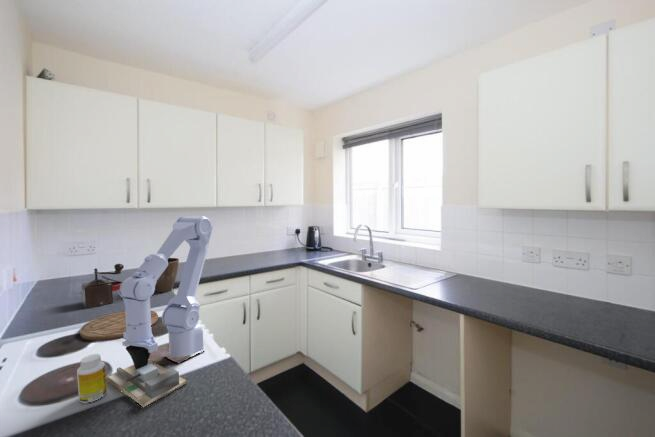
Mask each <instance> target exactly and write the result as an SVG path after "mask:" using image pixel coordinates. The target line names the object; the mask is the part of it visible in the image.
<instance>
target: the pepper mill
mask: <svg viewBox="0 0 655 437" xmlns="http://www.w3.org/2000/svg"><path fill="white" fill-rule="evenodd" d="M113 266H114V272H111V271H108V272H107V271H105V272H101V271H98V268H96V267H95V268H94V269H93V271H94V272H93V273H94V279H92V280H91V281H90V282H86V283H82V284H81V296H82V299H81V300H82V305H83V307H84V308H85V309H86V310H87V309H92V308H97V307H101V306H105V305H109V304H113V303H114V300H113V299H114V298H113V291H112V284H111V283H110V282H111V281H110V280H106V279H103V278H102V279H99V278H98V274H99V275H120V274H122V270H123V269H124V268H125V267H124V265H123V264H122V263H116V264H114V265H113Z"/></svg>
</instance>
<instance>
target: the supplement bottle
mask: <svg viewBox="0 0 655 437" xmlns="http://www.w3.org/2000/svg"><path fill="white" fill-rule="evenodd" d="M76 376H77V377H76V379H77V380H76V381H77V393H78V401H79V402H80V403H81V402H82V403H81V404H88V403H87V402H91V403H93V402H92V401H95V400H97V401H99V400H100V398H101V397H102V398H103V397H105V395H107V391H108V390H107V381H106V376H107V374H106V363H105V362H104V361H103V360H102V358H101V354H98V353H94V354H93V353H92V354H89V355H87V356H84V357H82V358H81V359H80V366H79V367H78V368H77V370H76ZM102 398H101V399H102ZM98 399H99V400H98ZM95 402H96V401H95Z"/></svg>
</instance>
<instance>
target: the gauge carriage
mask: <svg viewBox="0 0 655 437" xmlns="http://www.w3.org/2000/svg"><path fill="white" fill-rule="evenodd" d="M156 376H158V368H157V367H155V366H153V365H152V364H148V365H146V366H143V367H141V368H139V369H137V370H136V375H135V376H133V377H131V378H129V379H127V380H126V382H128V381H130V380H132V379H135V378H137V379H139V380H140V381H142V382H143V383H145V382H146V381H148V380H150V379H152V378H154V377H156Z"/></svg>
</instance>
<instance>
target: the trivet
mask: <svg viewBox="0 0 655 437" xmlns="http://www.w3.org/2000/svg"><path fill="white" fill-rule="evenodd" d="M157 320H158V321H159V314H158V312H156V311H155V310H151V325H152V324H154V323H155V322H156V321H157ZM158 321H157V322H158ZM125 331H127V330H126V313H125V310H123V311H117V312H113V313H109V314H106V315H102V316H99V317H97V318H94V319H93V320H90V321H88V322H86V323H84V324H83V325H82V327H80V329H79V336H80V337H81V338H82V340H85V341H92V342H93V341H94V342H104V341H112V340H118V339H124V337H123V332H125Z"/></svg>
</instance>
